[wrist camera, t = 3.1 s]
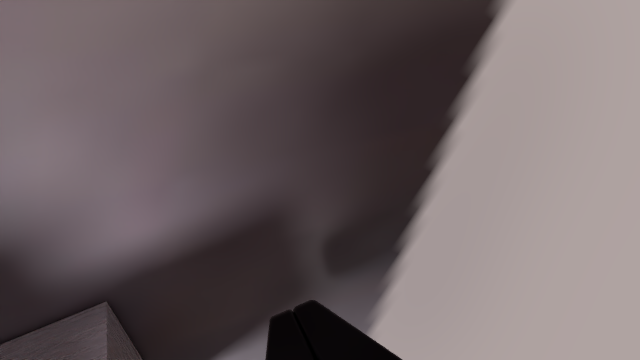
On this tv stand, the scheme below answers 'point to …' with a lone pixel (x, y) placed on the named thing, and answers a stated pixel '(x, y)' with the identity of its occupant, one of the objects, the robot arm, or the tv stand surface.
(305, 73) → the tv stand surface
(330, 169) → the tv stand surface
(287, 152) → the tv stand surface
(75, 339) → the grey rectangular block
